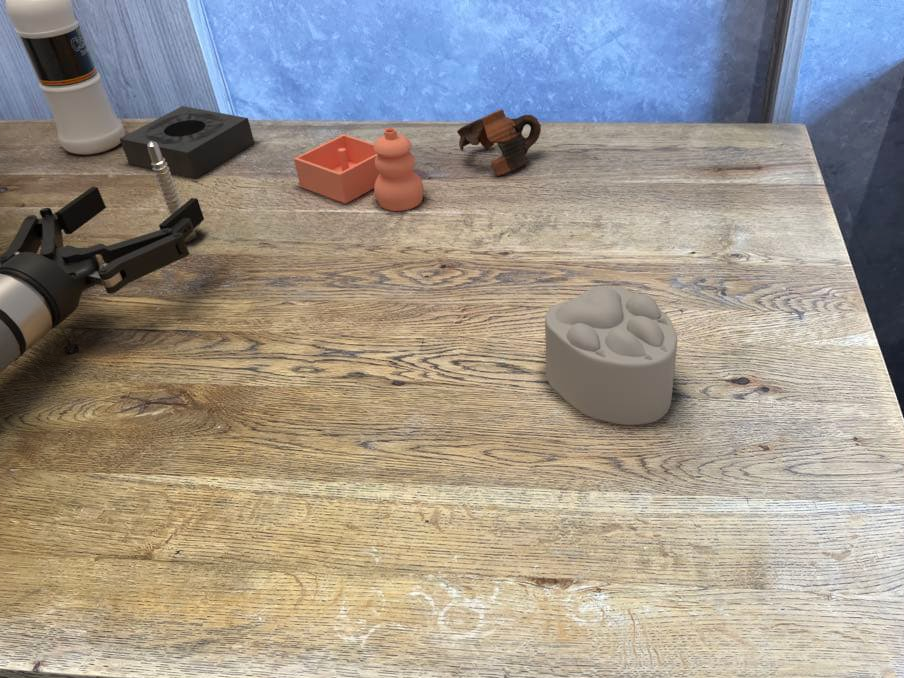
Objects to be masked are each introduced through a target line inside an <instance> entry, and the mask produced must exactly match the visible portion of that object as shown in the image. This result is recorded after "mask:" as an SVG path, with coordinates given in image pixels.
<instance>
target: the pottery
mask: <svg viewBox="0 0 904 678" xmlns="http://www.w3.org/2000/svg"><path fill="white" fill-rule="evenodd" d="M411 148H412V143H411V140H410V139H409V138H408V137H407V136H405V135H403V134H399V133H398V130H397V128H395V127H387V128H384V129H383V135H382V136H380V137H378V138H377V139H376V140H375V141H374V143H373V142H369V141H367V140H364V139H360V138H358V137H354V136H351V135H348V134H345V133H343V134H341V135H339V136H337V137H335V138H333V139H331V140H328V141H326V142H325V143H323V144H320V145H318V146H317V147H314V148H312V149H310V150H308V151H306V152H303V153H302V154H300V155H298V156H296V157H294V158H293V162H294V165H295V171H296V174H297V178H298V182H299V183H298V184H299V186H300V188H303V189H305V190H308V191H310V192H313V193H316V194H318V195H321V196H323V197H325V198H326V197H327V198H328V199H329V198H330V199H332V200H334V201H337V202H339V203H343V204H348V203H350V202H352V201H353V200H355V199H357V198H359V197H361V196H362V195H364V194H366V193H368V192H370V191H371V190H373V189H374V190H373V191H374V192H373V193H374V196H375V197H376V200H377V202H378V205H379V206H380V208H382V209H385V210H387V211H391V212H392V211H393V212H401V211H408V210H411V209H413V208H416V207H418V206H419V205H420V204H421V203H422V202H423V198H424V197H423V196H424V184H423V181H422V179H421V177H420V176H419V174H418V173H417V172H416V171H415V170H414V168H415V165H416V160H415V156H414V154H413V153H412V152H411V151H410V150H411Z"/></svg>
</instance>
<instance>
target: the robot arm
mask: <svg viewBox="0 0 904 678" xmlns="http://www.w3.org/2000/svg"><path fill="white" fill-rule="evenodd" d="M105 209H107V207H106V204H105V201H104V199H103V197H102V195H101V192H100V189H99V187H97V186H91V187H90V188H88V189H87V190H85V191H84V192H83V193H81V194H80V195H78V196H77V197H76V198H74V199H73V200H71V201H70V202H68V203H67V204H66V205H64V206H63V207H61V208H60V209H58V210H57V211H55V212H54V213H53V211H52V209H51V208H50V207H43V208H41V209H40V210H39V211H38V213H39V215H40V216H41V218H38V216H37V215H35V214H30V215H27V216H26V217H25V218H24V219H23V221H22V223H21V225H20V227H19V229H18V231H17V233H16V234H15V236H14V238H13V240H12V242H11V243H10V245H9V247H8V248H7V250H6V251H4V252H3V253H2V254H0V374H1V373H3V372H4V371H5V370H6V369H7V368H8V367H9V366H10V365H11V364H12V363H14V362H17V360H18V359H20V358H21V357H22V356H23V355H24V354H25V353H26V352H27V351H29V350H30V349H31V348H32V347H33V346H34V345H36V344H37V343H38V342H39V341H41V340H42V339H43V338H44V337H45V336H46V335H48V334H49V333H50V331H51V330H53V329H55V328H56V327H58V326H59V325H60V324H61V323H62V322H64V321H65V320H66V319H67V318H68V317H70V316H71V315H72V314H73V313H74V312H75V311H76V310H77V309H78V307H79V305H80V300H81V296H82V293H84V291H85V290H88V289H89V288H92V287H95V286H96V285H98V286H103V287H104V289H105V291H106V293H107V294H110V295H111V294H115V293H117V292H119V291H120V290H121V289H123V288H124V287H126V286H127V285H128V284H129V283H132V282H134V281H136V280H139V279H140V278H143V277H145V276H147V275H149V274H152V273H153V272H156V271H158V270H160V269H163V268H164V267H166V266H170V265H171V264H173V263H175V262H178V261H180V260H181V259H184V258H186V257H188V256H189V255H190V251H189V248H188V246H187V242H185V240H184V239H185V238H186V237H187V236H189V235H190V234H191V233H192V232H193V230H194V228H195V227H196V226H197V225H199V224H200V223H201V224H202V222H203V221H204V220H205V217H204V214H203V211H202V207H201V205H200V202H199V199H198V198H196V197H191V198H190V199H188V200H187V201H186V202H185V203H184V204H182V205H181V207H180V208H179V209H178V210H177V211H175V212H174V213H173V214H172V215H171V214H170V216H168V217H166V218H167V219H166V218H165V219H166V220H165V219H164V220H165V221H164V220H163V221H162V222H161V223H159V225H158V227H159V229H158V230H155V231H152V232H149V233H148V232H147V233H145V234H142V235H138V236H136V237H132V238H129V239H127V240H122V241H119V242H116V243H112V244H110V245H106V244H103V243H97V244H95V245H91V246H88V247H77V246H74V245H64V238H63V233H64V234H65V235H72V234H73V233H74V232H76V231H77V230H78V229H80V228H81V227H82V226H84V225H85V224H87V223H88V222H89V221H91V220H92V219H93V218H95V217H96V216H97V215H99V214H100V213H101V212H103V211H104V210H105ZM201 224H200V225H201ZM62 231H63V232H62ZM194 231H195V230H194ZM39 251H40V252H39ZM38 252H39V253H38ZM98 255H100V256H101V258H102V260H103V262H104V263H103V264H101V265H100V262H99V260H98V257H97V256H98ZM101 266H102V267H101ZM100 267H101V268H100Z"/></svg>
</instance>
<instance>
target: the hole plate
mask: <svg viewBox="0 0 904 678" xmlns="http://www.w3.org/2000/svg"><path fill="white" fill-rule="evenodd" d="M150 141H154V142H157V144H158V146H159V148H160V151H161V154H162V157H163V158H165V162H167V166H168V167H169V170H168V171H170V172H171V174H172V175H177V176H180V177H185V178H190V179H195V180H196V179H198V178H200V177H201V176H203V175H205V174H206V173H209V172H210V171H212V170H213V169H214V168H216V167H219V166H220V165H221V164H223V163H224V162H227V161H228V160H230V159H231V158H232V157H234V156H236V155H237V154H239V153H240V152H242V151H244V150H246V149H247V148H249V147H251V146H253V145H254V144H255V139H254V136H253V132H252V128H251V125H250V121H249V118H248V117H246V116H245V117H244V116H239V115H235V114H228V113H222V112H217V111H211V110H207V109H200V108H196V107H195V108H194V107H190V106H186V105H185V106H184V105H182V106H180V107H177V108H176V109H174V110H172V111H170V112H168V113H166V114H164V115H162V116H159V118H156V119H154V120H153V121H151V122H149V123H147V124H145V125H143V126H141V127H139V128H137V129H135V130H133V131H132V132H129V133H127V134H125V136H124V137H122V138H120V142H121V143H120V144H121V147H122V149H123V152H124V154H125V157H126V160H127V162H128V164H129V165H130V166H135V167H141V168H144V169H149V170H152V168H153V165H151V163H152V160H151V157H150V154H149V152H148V148H147V144H148V143H149V142H150ZM171 174H170V175H171Z"/></svg>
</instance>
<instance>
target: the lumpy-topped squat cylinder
mask: <svg viewBox="0 0 904 678" xmlns="http://www.w3.org/2000/svg"><path fill="white" fill-rule="evenodd" d="M544 334H545V340H544V341H545V342H544V343H545V370H546V371H545V372H546V374H545V375H546V380H547V382H548V384H549V385H550V387H551V388H552V389H553V390H554V391H555V392H556V393H557V394H558V395H559V396H560V397H561V398H562V399H564V401H566V402H567V403H568V404H569V405H571V406H572V407H574V408H575V409H576V410H577V411H578V412H580V413H582V414H583V415H585V416H587V417H590V418H593V419H596V420H598V421H603V422H607V423H611V424H615V425H616V424H617V425H624V426H625V425H628V426H631V425H633V426H635V425H647V424H651V423H655V422H656V421H659V420H660V419H662V418H663V417H665V415H666V414H667V413H668V412H669V409H670V408H671V403H672V397H673V390H674V389H673V388H674V378H675V369H676V360H677V350H678V335H677V331H676V329H675V326H674V324H673V322H672V320H671V318H670V317H669V316H668V315H667V314H666V313H665V312H664V311H662V310H661V309H660V308H659V305H658V303H657V302H656V300H655V299H654V298H653V297H652V296H650V295H648V294H645V293H634V292H632V291H631V290H629V289H626V288H624V287H621V286H617V285H597V286H593V287H591V288H589V289H586V290H585V291H584V292H582V293H581V294H579V295H578V296H575V297H574V298H570V299H568V300H565V301H562V302H559V303H557V304H554V305H553V306H551V307H550V308H549V309H547V311H546V313H545V317H544Z"/></svg>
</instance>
